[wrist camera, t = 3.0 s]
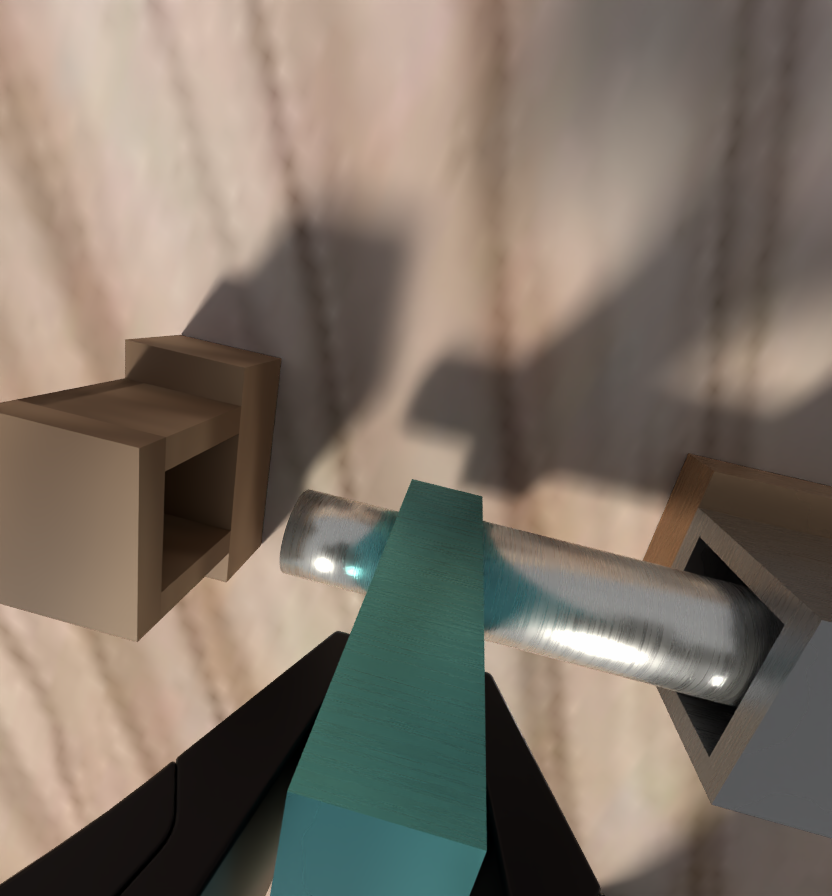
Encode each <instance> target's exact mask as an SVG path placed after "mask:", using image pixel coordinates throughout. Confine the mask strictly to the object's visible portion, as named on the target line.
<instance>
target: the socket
mask: <svg viewBox="0 0 832 896" xmlns="http://www.w3.org/2000/svg"><path fill="white" fill-rule="evenodd" d="M280 367H281V358H277V357H272V356H268V355H264V354H260V353H255V352H251V351H247V350H242V349H238V348H234V347H229V346H225V345H221V344H217V343H212V342H208V341H204V340H199V339H195V338H191V337H186V336H182V335H174V336H162V337H150V338H139V339H127V340H125V379H120V380H115V381H109V382H104V383H99V384H94V385H89V386H84V387H79V388H74V389H69V390H63V391H58V392H53V393H48V394H43V395H38V396H33V397H28V398H23V399H17V400H12V401H7V402H2V403H0V604H3V605H7V606H10V607H14V608H17V609H21V610H24V611H28V612H31V613H35V614H38V615H42V616H46V617H49V618H53V619H56V620H60V621H63V622H67V623H70V624H74V625H77V626H81V627H85V628H88V629H92V630H95V631H99V632H102V633H106V634H109V635H113V636H116V637H120V638H123V639H127V640H131V641H134V642H138V641H139V640H140V639H141V638H142V637H143V636H144V635H145V634H146V633H147V632H148V631H149V630H150V629H151V628H152V627H153V626H154V625H155V624H156V623H157V622H159V621H160V620H161V619H162V618H163V617H164V616H165V615H166V614H167V613H168V612H169V611H170V610H171V609H172V608H173V607H174V606H175V605H176V604H177V603H178V602H179V601H180V600H181V599H182V598H183V597H184V596H185V595H186V594H187V593H188V592H189V591H190V590H191V589H192V588H193V587H195V586H196V585H197V584H198V583H199V582H200V581H201V580H202V579H203V578H204V577H208V578H212V579H216V580H220V581H223V582H227V581H228V580H229V579H230V578H231V577H232V576H233V575H234V574H235V573H236V572H237V570H238V569H239V568H240V567H241V566H242V565H243V564H244V563H245V562H246V561H247V560H248V559H249V558H250V556H251V555H252V554H253V553H254V552H255V551H256V550H257V549H258V548H259V547H260V546H261V539H262V530H263V521H264V512H265V503H266V494H267V485H268V476H269V467H270V458H271V449H272V439H273V430H274V421H275V412H276V403H277V394H278V385H279V376H280Z"/></svg>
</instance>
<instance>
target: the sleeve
mask: <svg viewBox="0 0 832 896" xmlns="http://www.w3.org/2000/svg"><path fill="white" fill-rule="evenodd" d="M643 561H646V562H650V563H654V564H658V565H662V566H666V567H670V568H674V569H678V570H682V571H686V572H690V573H694V574H698V575H702V576H706V577H710V578H714V579H718V580H722V581H726V582H730V583H734V584H738V585H742V586H746V587H749V588H750V589H751V590H752V591H753V592H754V593H755V595H756V596H757V597H758V598H759V599H760V600H761V601H762V602H763V603H764V604H765V605H766V606H767V607H768V608H769V609H770V610H771V611H772V612H773V613H774V614H775V615H776V616H777V617H778V618H779V619H780V620H781V621H782V623H783V624H784V625H785V626H784V627H783V629H782V631H781V633H780V634H779V636H778V638H777V640H776V641H775V643H774V645H773V647H772V648H771V650H770V652H769V654H768V655H767V657H766V659H765V661H764V662H763V664H762V666H761V668H760V669H759V671H758V673H757V675H756V676H755V678H754V680H753V682H752V683H751V685H750V687H749V689H748V690H747V692H746V694H745V696H744V697H743V699H742V701H741V703H740V704H739V706H738V708H736V707H733V706H729V705H725V704H722V703H718V702H714V701H710V700H707V699H703V698H699V697H695V696H692V695H688V694H684V693H680V692H677V691H673V690H669V689H665V688H662V687H658V686H656V687H657V689H658V691H659V693H660V695H661V698H662V700H663V702H664V704H665V706H666V708H667V710H668V713H669V715H670V717H671V719H672V721H673V723H674V725H675V728H676V730H677V732H678V734H679V736H680V738H681V740H682V743H683V745H684V747H685V749H686V751H687V753H688V755H689V757H690V760H691V762H692V764H693V766H694V768H695V770H696V772H697V775H698V777H699V779H700V781H701V783H702V785H703V787H704V790H705V792H706V794H707V796H708V798H709V800H710V802H711V804H712V805H715V806H719V807H722V808H726V809H729V810H733V811H736V812H740V813H744V814H747V815H751V816H754V817H758V818H761V819H765V820H768V821H772V822H775V823H779V824H782V825H786V826H790V827H793V828H797V829H800V830H804V831H807V832H811V833H814V834H818V835H821V836H825V837H829V838H832V487H831V486H827V485H822V484H818V483H814V482H809V481H805V480H801V479H797V478H792V477H788V476H784V475H779V474H775V473H771V472H767V471H762V470H758V469H754V468H749V467H745V466H741V465H736V464H732V463H728V462H724V461H719V460H715V459H711V458H706V457H702V456H698V455H693V454H689V453H688V456H687V458H686V460H685V463H684V465H683V467H682V470H681V472H680V474H679V477H678V479H677V482H676V484H675V486H674V489H673V491H672V493H671V496H670V498H669V500H668V503H667V505H666V507H665V510H664V512H663V515H662V517H661V519H660V522H659V524H658V526H657V529H656V531H655V533H654V536H653V538H652V540H651V543H650V545H649V548H648V550H647V552H646V555H645V557H644V559H643Z"/></svg>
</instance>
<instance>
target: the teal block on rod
mask: <svg viewBox="0 0 832 896" xmlns="http://www.w3.org/2000/svg"><path fill="white" fill-rule="evenodd" d="M280 569H281V571H282V573H285V574H288V575H292V576H296V577H300V578H304V579H307V580H311V581H315V582H319V583H322V584H326V585H330V586H334V587H337V588H341V589H345V590H349V591H353V592H356V593H360V594H364V595H366V596H365V598H364V601H363V603H362V606H361V608H360V611H359V613H358V616H357V618H356V621H355V623H354V626H353V628H352V631H351V633H350V636H349V638H348V641H347V643H346V646H345V648H344V651H343V653H342V656H341V658H340V661H339V663H338V666H337V668H336V671H335V673H334V676H333V678H332V681H331V683H330V686H329V688H328V691H327V693H326V696H325V698H324V701H323V703H322V706H321V708H320V711H319V713H318V716H317V718H316V721H315V723H314V726H313V728H312V731H311V733H310V736H309V738H308V741H307V743H306V746H305V748H304V751H303V753H302V756H301V758H300V761H299V763H298V766H297V768H296V771H295V773H294V776H293V778H292V781H291V783H290V786H289V788H288V791H287V796H286V802H285V808H284V814H283V820H282V826H281V832H280V839H279V845H278V851H277V857H276V863H275V869H274V875H273V881H272V887H271V893H270V896H469V895H470V893H471V890H472V888H473V885H474V882H475V880H476V877H477V875H478V872H479V870H480V867H481V864H482V862H483V859H484V857H485V854H486V852H487V832H486V751H485V669H484V640H486V641H490V642H493V643H497V644H501V645H505V646H508V647H512V648H516V649H520V650H523V651H527V652H531V653H535V654H538V655H542V656H546V657H549V658H553V659H557V660H561V661H564V662H568V663H572V664H576V665H579V666H583V667H587V668H591V669H594V670H598V671H602V672H606V673H609V674H613V675H617V676H621V677H624V678H628V679H632V680H636V681H639V682H643V683H647V684H650V685H654V686H658V687H662V688H665V689H669V690H673V691H677V692H680V693H684V694H688V695H692V696H695V697H699V698H703V699H707V700H710V701H714V702H718V703H722V704H725V705H729V706H733V707H736V708H738V706H739V704H740V703H741V701H742V699H743V697H744V696H745V694H746V692H747V690H748V689H749V687H750V685H751V683H752V682H753V680H754V678H755V676H756V675H757V673H758V671H759V669H760V668H761V666H762V664H763V662H764V661H765V659H766V657H767V655H768V654H769V652H770V650H771V648H772V647H773V645H774V643H775V641H776V640H777V638H778V636H779V634H780V633H781V631H782V629H783V627H784V626H785V625H784V624H783V623H782V621H781V620H780V619H779V618H778V617H777V616H776V615H775V614H774V613H773V612H772V611H771V610H770V609H769V608H768V607H767V606H766V605H765V604H764V603H763V602H762V601H761V600H760V599H759V598H758V597H757V596H756V595H755V593H754V592H753V591H752V590H751V589H750V588H749V587H746V586H742V585H738V584H734V583H730V582H726V581H722V580H718V579H714V578H710V577H706V576H702V575H698V574H694V573H690V572H686V571H682V570H678V569H674V568H670V567H666V566H662V565H658V564H654V563H650V562H646V561H642V560H638V559H634V558H630V557H626V556H622V555H618V554H614V553H610V552H606V551H602V550H598V549H594V548H590V547H586V546H582V545H578V544H574V543H570V542H566V541H562V540H558V539H554V538H550V537H546V536H542V535H538V534H534V533H530V532H526V531H522V530H518V529H514V528H510V527H506V526H502V525H498V524H494V523H490V522H486V521H483V507H482V496H478V495H474V494H470V493H466V492H462V491H458V490H454V489H450V488H446V487H442V486H438V485H434V484H430V483H426V482H421V481H417V480H413V479H412V481H411V483H410V486H409V488H408V491H407V493H406V496H405V498H404V501H403V503H402V506H401V508H400V511H399V512H398V511H394V510H390V509H386V508H382V507H378V506H374V505H370V504H366V503H362V502H358V501H354V500H350V499H346V498H342V497H338V496H334V495H330V494H326V493H322V492H318V491H314V490H310V489H308V490H306V491H305V492H303V494H302V495H301V496H300V498H299V499H298V501H297V502H296V504H295V506H294V508H293V510H292V513H291V515H290V518H289V520H288V523H287V526H286V529H285V533H284V536H283V540H282V545H281V551H280Z"/></svg>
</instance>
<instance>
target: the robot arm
mask: <svg viewBox="0 0 832 896" xmlns="http://www.w3.org/2000/svg"><path fill="white" fill-rule="evenodd" d="M349 636H350V634H348V633H344V632H341V631H336V632H334V633H333V634H332V635H330V636H329V637H328V638H327V639H325V640H324V641H323V642H322V643H320V644H319V645H318V646H317V647H315V648H314V649H313V650H312V651H310V652H309V653H308V654H307V655H305V656H304V657H303V658H302V659H300V660H299V661H298V662H296V663H295V664H294V665H293V666H291V667H290V668H289V669H288V670H286V671H285V672H284V673H283V674H281V675H280V676H279V677H278V678H276V679H275V680H274V681H273V682H271V683H270V684H269V685H268V686H266V687H265V688H264V689H263V690H261V691H260V692H259V693H258V694H256V695H255V696H254V697H253V698H251V699H250V700H249V701H248V702H246V703H245V704H244V705H243V706H241V707H240V708H239V709H237V710H236V711H235V712H234V713H232V714H231V715H230V716H229V717H227V718H226V719H225V720H224V721H222V722H221V723H220V724H219V725H217V726H216V727H215V728H214V729H212V730H211V731H210V732H209V733H207V734H206V735H205V736H204V737H202V738H201V739H200V740H199V741H197V742H196V743H195V744H194V745H192V746H191V747H190V748H189V749H187V750H186V751H185V752H184V753H182V754H181V755H180V756H178V757H177V759H176V763H175V762H171V763H169V764H168V765H167V766H165V767H164V768H163V769H162V770H161V771H159V772H158V773H157V774H156V775H154V776H153V777H152V778H151V779H149V780H148V781H147V782H145V783H144V784H143V785H142V786H140V787H139V788H138V789H136V790H135V791H134V792H132V793H131V794H130V795H128V796H127V797H126V798H124V799H123V800H122V801H120V802H119V803H118V804H117V805H115V806H114V807H113V808H111V809H110V810H109V811H107V812H106V813H104V814H103V815H102V816H100V817H99V818H97V819H96V820H94V821H93V822H91V823H90V824H89V825H87V826H86V827H84V828H83V829H81V830H80V831H78V832H77V833H76V834H74V835H73V836H71V837H70V838H68V839H67V840H65V841H64V842H63V843H61V844H60V845H58V846H57V847H55V848H54V849H52V850H51V851H49V852H48V853H46V854H45V855H43V856H42V857H40V858H39V859H37V860H36V861H34V862H33V863H31V864H30V865H28V866H27V867H25V868H24V869H22V870H21V871H19V872H18V873H16V874H15V875H13V876H12V877H10V878H9V879H7V880H6V881H4V882H3V883H1V884H0V896H265V895H266V893H267V891H268V889H269V886H270V884H271V882H272V879H273V875H274V869H275V863H276V857H277V851H278V845H279V839H280V832H281V826H282V820H283V814H284V808H285V802H286V796H287V791H288V788H289V786H290V783H291V781H292V778H293V776H294V773H295V771H296V768H297V766H298V763H299V761H300V758H301V756H302V753H303V751H304V748H305V746H306V743H307V741H308V738H309V736H310V733H311V731H312V728H313V726H314V723H315V721H316V718H317V716H318V713H319V711H320V708H321V706H322V703H323V701H324V698H325V696H326V693H327V691H328V688H329V686H330V683H331V681H332V678H333V676H334V673H335V671H336V668H337V666H338V663H339V661H340V658H341V656H342V653H343V651H344V648H345V646H346V643H347V641H348V638H349ZM485 751H486V832H487V852H486V854H485V857H484V859H483V862H482V864H481V867H480V870H479V872H478V875H477V877H476V880H475V882H474V885H473V888H472V890H471V893H470V895H469V896H605V895H604V894H603V893H600V890H601V888H600V885H599V883H598V881H597V879H596V877H595V875H594V873H593V871H592V869H591V867H590V865H589V864H588V862H587V860H586V858H585V856H584V854H583V852H582V850H581V848H580V846H579V844H578V842H577V840H576V838H575V836H574V834H573V832H572V830H571V828H570V827H569V825H568V823H567V821H566V819H565V817H564V815H563V813H562V811H561V809H560V807H559V805H558V803H557V801H556V799H555V797H554V795H553V793H552V791H551V790H550V788H549V786H548V784H547V782H546V780H545V778H544V776H543V774H542V772H541V770H540V768H539V766H538V764H537V762H536V760H535V758H534V756H533V754H532V753H531V751H530V749H529V747H528V745H527V743H526V741H525V739H524V737H523V735H522V733H521V731H520V729H519V727H518V725H517V723H516V721H515V719H514V717H513V716H512V714H511V712H510V710H509V708H508V706H507V704H506V702H505V700H504V698H503V696H502V694H501V692H500V690H499V688H498V686H497V684H496V682H495V680H494V678H493V677H492V675H491V674H489V673H488V672H485ZM599 893H600V894H599Z"/></svg>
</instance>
